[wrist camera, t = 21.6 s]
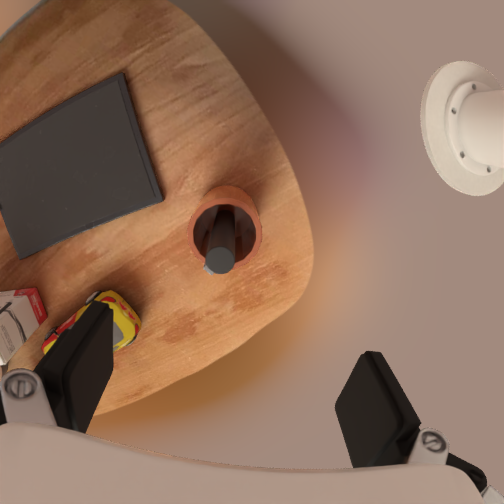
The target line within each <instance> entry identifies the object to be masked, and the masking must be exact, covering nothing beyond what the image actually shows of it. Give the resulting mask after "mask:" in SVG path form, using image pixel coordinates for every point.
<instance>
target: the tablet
mask: <svg viewBox="0 0 504 504" xmlns="http://www.w3.org/2000/svg"><path fill="white" fill-rule="evenodd" d="M164 200H165V199H164V196H163V193H162V190H161V187H160V184H159V181H158V179H157V176H156V173H155V170H154V167H153V164H152V161H151V158H150V155H149V152H148V149H147V146H146V143H145V140H144V137H143V134H142V130H141V127H140V124H139V121H138V118H137V114H136V111H135V108H134V105H133V101H132V98H131V95H130V91H129V88H128V84H127V81H126V77H125V74H124V73H120V74H117V75H115V76H113V77H111V78H109V79H107V80H105V81H103V82H101V83H99V84H97V85H95V86H93V87H91V88H89V89H87V90H85V91H83V92H81V93H79V94H78V95H76V96H74V97H72V98H70V99H68V100H67V101H65V102H63V103H61V104H60V105H58V106H56V107H55V108H53V109H51V110H50V111H48V112H46V113H45V114H43V115H42V116H40V117H38V118H37V119H35V120H34V121H32V122H31V123H29V124H28V125H26V126H25V127H23V128H22V129H20V130H19V131H17V132H16V133H14V134H13V135H11V136H10V137H9V138H7V139H6V140H5V141H3V142H2V143H0V211H1V214H2V216H3V219H4V222H5V225H6V227H7V230H8V233H9V235H10V238H11V240H12V243H13V245H14V248H15V250H16V252H17V255H18V257H19V259H20V260H21V259H23V258H25V257H27V256H30V255H32V254H34V253H36V252H38V251H41V250H43V249H45V248H47V247H50V246H52V245H54V244H56V243H59V242H61V241H63V240H66V239H68V238H70V237H73V236H75V235H77V234H80V233H82V232H85V231H87V230H89V229H92V228H94V227H97V226H99V225H102V224H104V223H107V222H109V221H112V220H114V219H117V218H120V217H122V216H125V215H127V214H130V213H133V212H135V211H138V210H141V209H143V208H146V207H149V206H151V205H154V204H157V203H160V202H162V201H164Z"/></svg>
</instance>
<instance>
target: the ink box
mask: <svg viewBox="0 0 504 504" xmlns="http://www.w3.org/2000/svg"><path fill="white" fill-rule="evenodd" d="M46 319H47V314H46V312H45V309H44V306H43V304H42V301H41V298H40V296H39V293H38V291H37V288H36V287H35V288H28V289H19V290H12V291H4V292H0V365H5V364H6V363H7V362H8V361H9V360H10V359H11V358H12V356H13V355H14V354H15V353H16V352H17V351H18V349H19V348H20V347H21V346H22V345H23V344H24V343H25V342H26V340H27V339H28V338H29V337H30V336H31V335H32V334H33V333H34V332H35V330H36V329H37V328H38V327H39V326H40V325H41V324H42V323H43V322H44V321H45V320H46Z"/></svg>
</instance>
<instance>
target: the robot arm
mask: <svg viewBox="0 0 504 504" xmlns="http://www.w3.org/2000/svg"><path fill="white" fill-rule="evenodd" d="M444 118H445V132H446V137H447V140H448V144H449V146H450V149H451V151H452V153H453V155H454V157H455V158H456V160H457V161H458V162H459V164H460V165H461V166H462V167H463V168H464V169H466V170H467V171H469V172H471V173H473V174H477V175H482V176H487V175H491V174H493V173H495V172H496V171H497V170H498V169H500V168H504V90H495V91H493V90H492V89H491V88H490V87H488V86H487V85H485V84H483V83H481V82H476V81H469V82H464V83H461V84H460V85H458V86H457V87H455V89H454V90H453V91H452V92H451V94H450V96H449V98H448V100H447V104H446V108H445V115H444ZM113 316H114V311H113V309H111V308H109V304H108V303H104V302H100V301H97V300H93V301H92V302H91V304H90V305H89V306H88V307H87V309H86V310H85V311H84V312H83V314H82V315H81V316H80V318H79V319H78V320H77V321H76V323H75V324H74V325H73V327H72V328H71V329H68V328H67V329H65V330H64V331H63V332H62V333H61V334H60V336H59V337H58V338H57V340H56V341H55V342H54V344H53V345H52V346H51V348H50V349H49V350H48V352H47V353H46V354H45V356H44V357H43V358H42V360H41V361H40V362H39V364H38V365H37V366H36V368H35V369H34V371H31V370H29V369H24V368H17V369H13V370H10V371H9V372H7V373H6V374H5V375H4V376H3V377H2V379H1V381H0V504H504V496H503V495H502V494H500V493H499V492H498V491H497V490H496V489H495V488H493V487H492V486H491V485H490V486H488V487H487V479H486V476H485V474H484V473H483V471H482V470H481V469H479V468H478V467H476V466H474V465H472V464H470V463H468V462H466V461H464V460H462V459H460V458H458V457H456V456H455V455H453V454H451V453H449V442H448V439H447V438H446V437H445V435H444V434H443V433H441V432H440V431H438V430H436V429H433V428H424V429H422V430H421V431H420V429H419V426H420V424H421V422H420V420H419V418H418V416H417V414H416V412H415V411H414V409H413V407H412V405H411V403H410V402H409V400H408V398H407V397H406V395H405V393H404V391H403V389H402V388H401V386H400V384H399V382H398V381H397V379H396V377H395V375H394V374H393V372H392V370H391V369H390V367H389V365H388V363H387V362H386V360H385V358H384V357H383V355H382V353H381V352H373V351H366V352H365V353H364V354H362V355H361V356H360V357H359V359H358V361H357V363H356V365H355V367H354V369H353V371H352V373H351V375H350V377H349V379H348V381H347V382H346V384H345V386H344V388H343V390H342V392H341V394H340V395H339V397H338V399H337V401H336V404H335V411H336V414H337V417H338V421H339V424H340V427H341V430H342V433H343V437H344V440H345V443H346V446H347V449H348V452H349V456H350V459H351V462H352V466H353V468H346V469H280V468H263V467H249V466H239V465H230V464H222V463H214V462H207V461H200V460H194V459H188V458H182V457H177V456H172V455H167V454H162V453H157V452H152V451H148V450H144V449H140V448H136V447H131V446H127V445H124V444H120V443H116V442H112V441H109V440H105V439H102V438H98V437H95V436H91V435H88V434H85V433H86V431H87V428H88V426H89V424H90V421H91V419H92V417H93V414H94V412H95V410H96V407H97V405H98V403H99V401H100V398H101V396H102V394H103V392H104V390H105V387H106V385H107V383H108V381H109V379H110V376H111V374H112V371H113Z"/></svg>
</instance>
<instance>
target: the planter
mask: <svg viewBox="0 0 504 504" xmlns="http://www.w3.org/2000/svg"><path fill="white" fill-rule="evenodd" d="M7 370H8V362H7V363H6V364H5V365H0V380H1V379H2V377H3V376H4V375H5V373H6V372H7Z"/></svg>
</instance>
